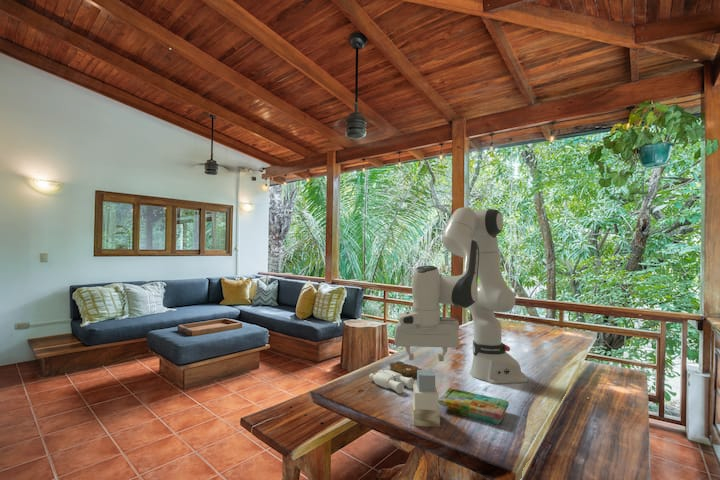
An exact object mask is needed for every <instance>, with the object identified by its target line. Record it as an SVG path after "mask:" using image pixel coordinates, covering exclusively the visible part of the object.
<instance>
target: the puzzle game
mask: <svg viewBox="0 0 720 480" xmlns="http://www.w3.org/2000/svg"><path fill="white" fill-rule="evenodd" d="M443 393H444V394H442V396H440V397H439V398H438V405H441V406H443V407H444V406H445V407H447V408H448V410H449V411H450V412H451V413H454V414H457V415H461V416H465V417H467V418H471V419H475V420H479V421H484V422H487V423H491V424H494V425H497V426H499V425H500V423H501V422H502V420H503V417H504V416H505V413H506V412H507V409H508V407H509V401H508V400H507V399H502V398H497V397H493V396H489V395H486V394H480V393H476V392H475V393H474V392H471V391H466V390H461V389H456V388H453V387H448V389H447V390H446V391H445V392H443Z"/></svg>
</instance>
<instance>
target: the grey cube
mask: <svg viewBox="0 0 720 480" xmlns="http://www.w3.org/2000/svg"><path fill="white" fill-rule="evenodd" d="M416 384H417V387H418V390H419V392H435V387H436V374H435V372H434V370H433V369H422V370H417V377H416Z"/></svg>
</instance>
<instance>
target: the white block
mask: <svg viewBox="0 0 720 480" xmlns="http://www.w3.org/2000/svg"><path fill="white" fill-rule="evenodd" d="M412 390H413V394H412V396H413V401H414V407H415V409H417V410H438V406H439V403H438V400H439V393H438V390H437V388H436V386H435V392H419V390H418V387H417V383H414V384H413V387H412Z"/></svg>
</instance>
